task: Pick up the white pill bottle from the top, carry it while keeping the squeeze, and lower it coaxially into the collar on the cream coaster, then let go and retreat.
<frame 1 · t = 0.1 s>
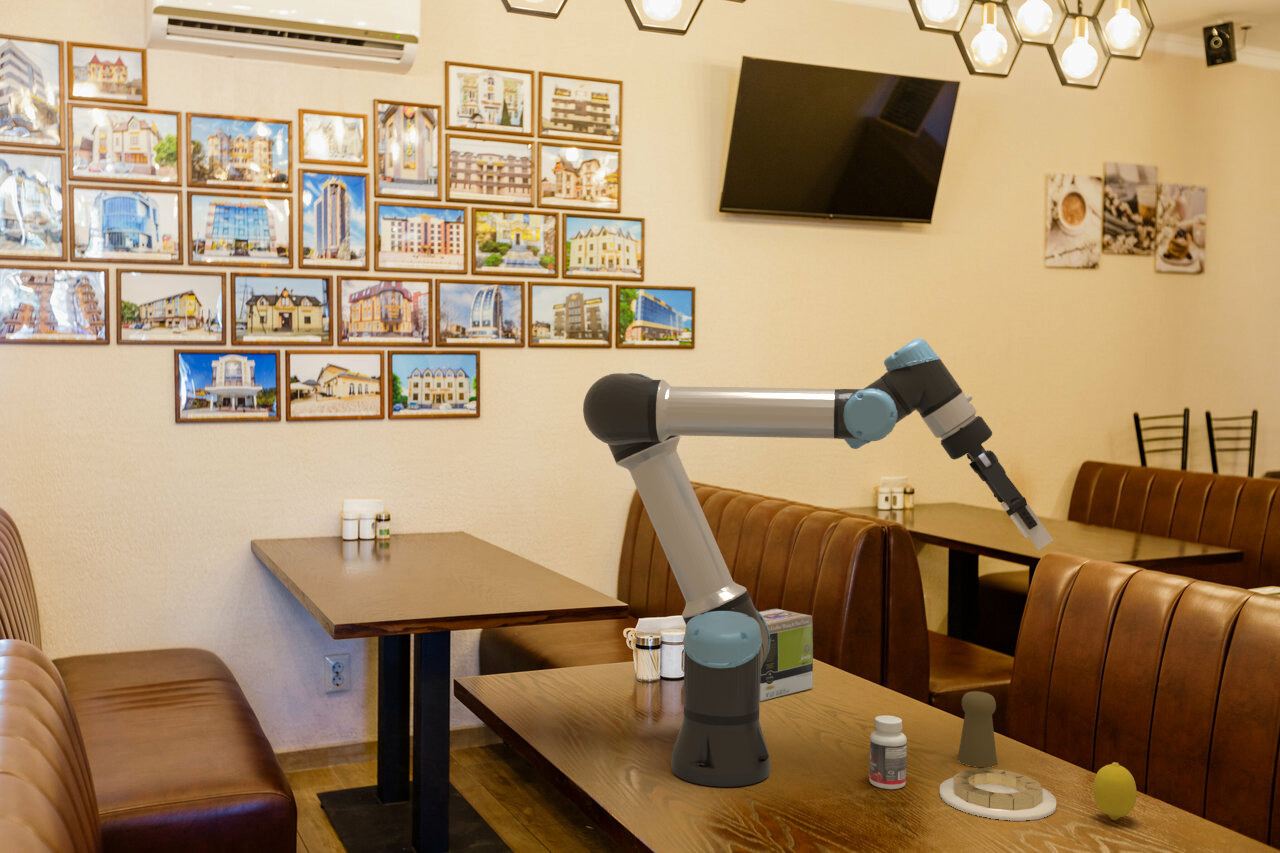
hand: (1038, 539, 174), 36 cm above the table, tool tilted 35°, fingers open, 13 cm apart
coaster: (996, 799, 160), on the table
lemon: (1113, 821, 153), on the table
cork: (977, 762, 177), on the table
tea box: (768, 691, 217), on the table
collar: (997, 788, 160), on the coaster, point 1 cm above the table
pill bottle: (887, 785, 166), on the table
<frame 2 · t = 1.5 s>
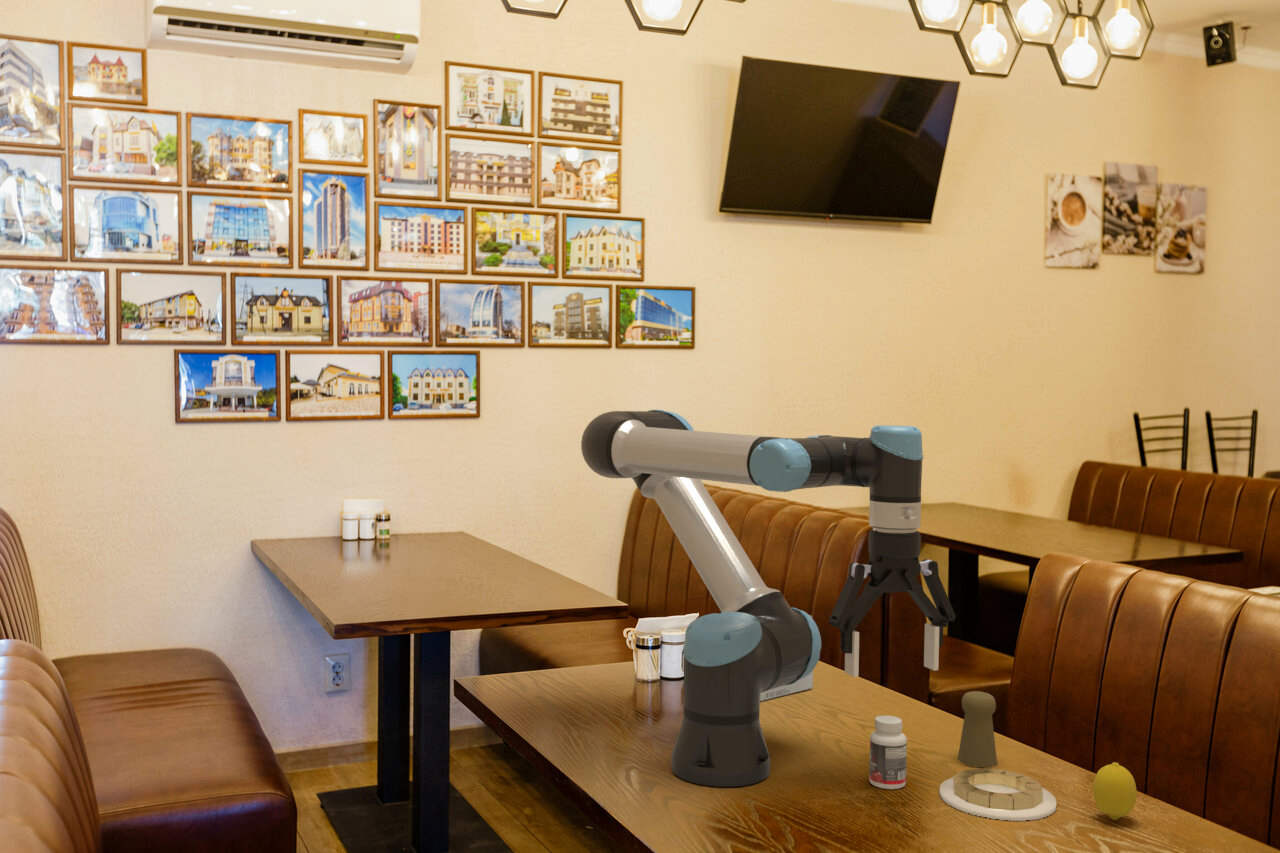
hand: (891, 671, 166), 17 cm above the table, tool pointing down, fingers open, 13 cm apart
nothing on the table moved.
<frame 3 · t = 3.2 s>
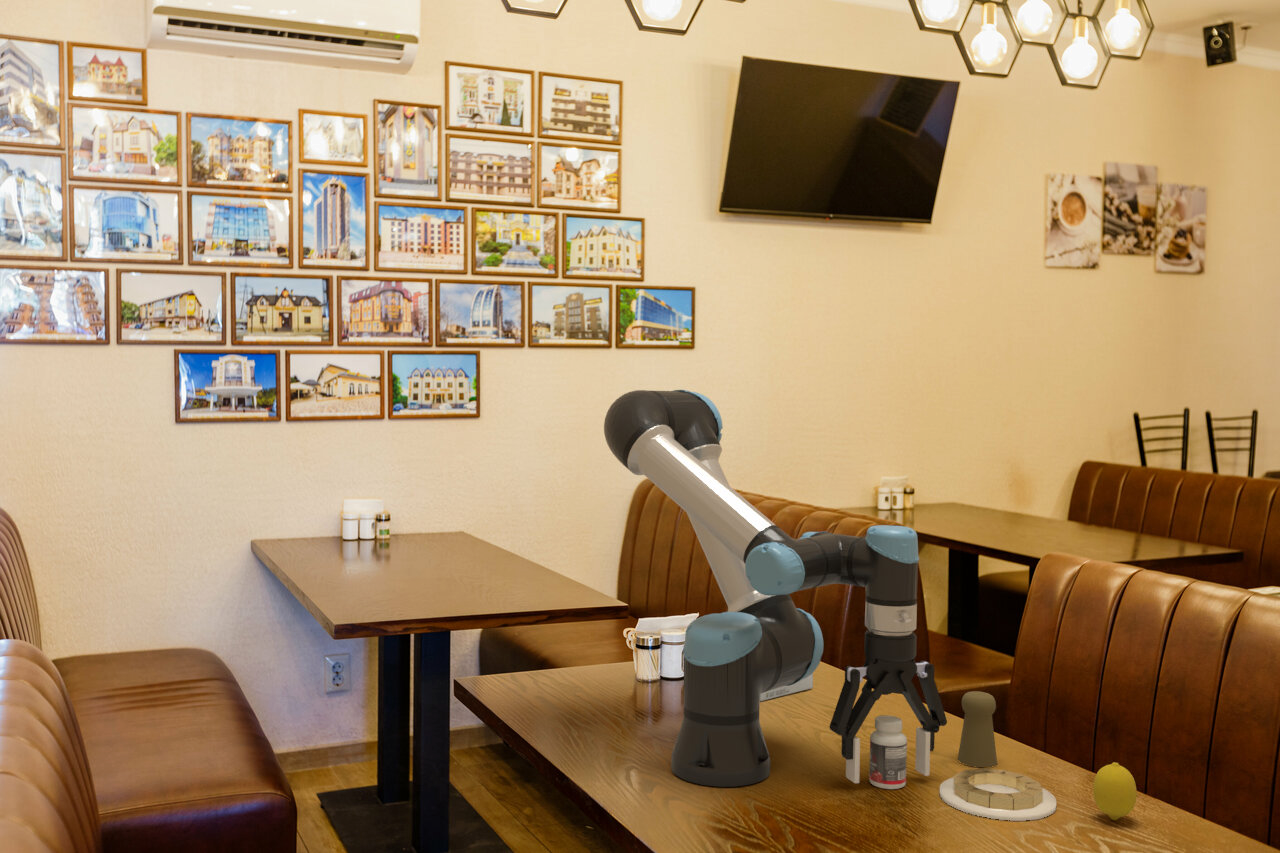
hand: (887, 776, 166), 1 cm above the table, tool pointing down, fingers open, 11 cm apart
nothing on the table moved.
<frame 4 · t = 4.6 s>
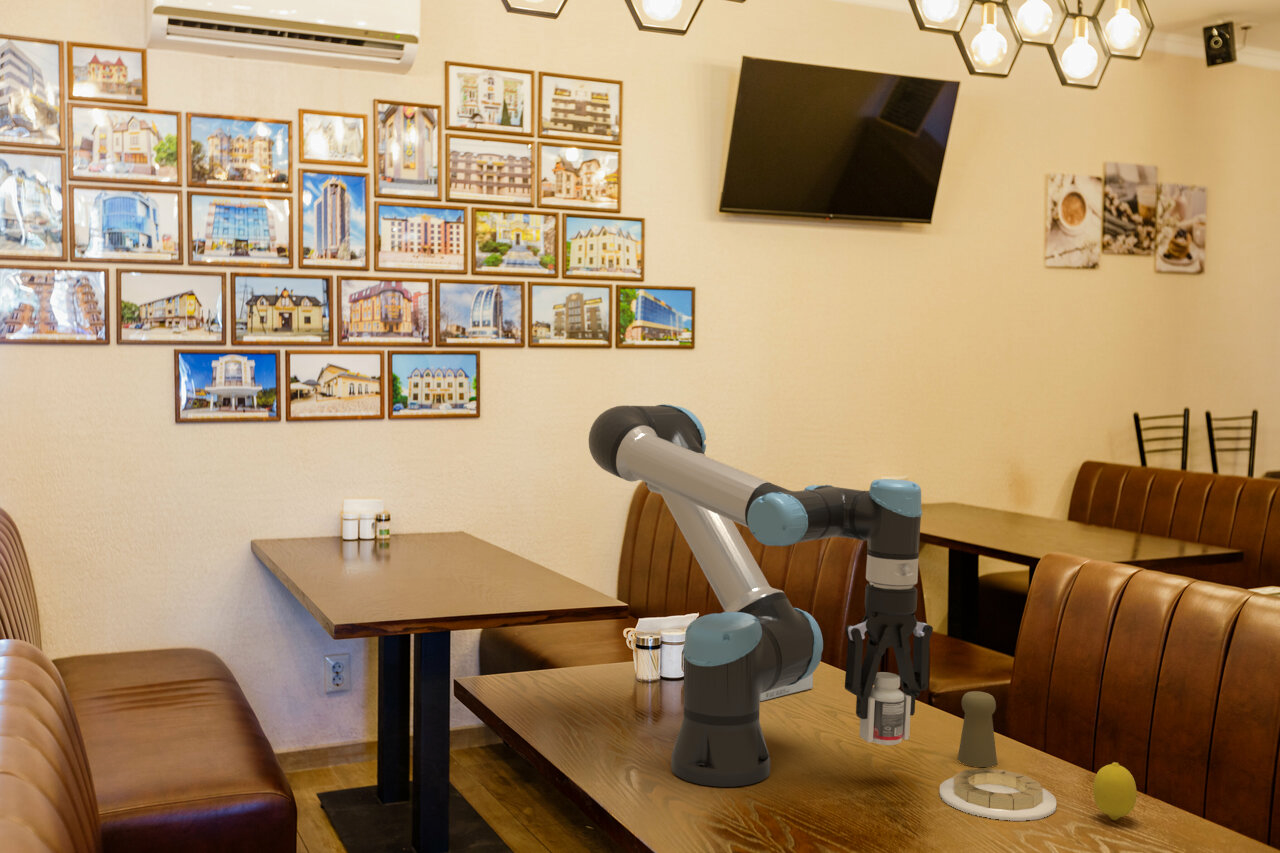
hand: (884, 737, 166), 7 cm above the table, tool pointing down, fingers closed on pill bottle, 5 cm apart
pill bottle: (883, 741, 167), point 6 cm above the table, touching gripper
everything else where it was.
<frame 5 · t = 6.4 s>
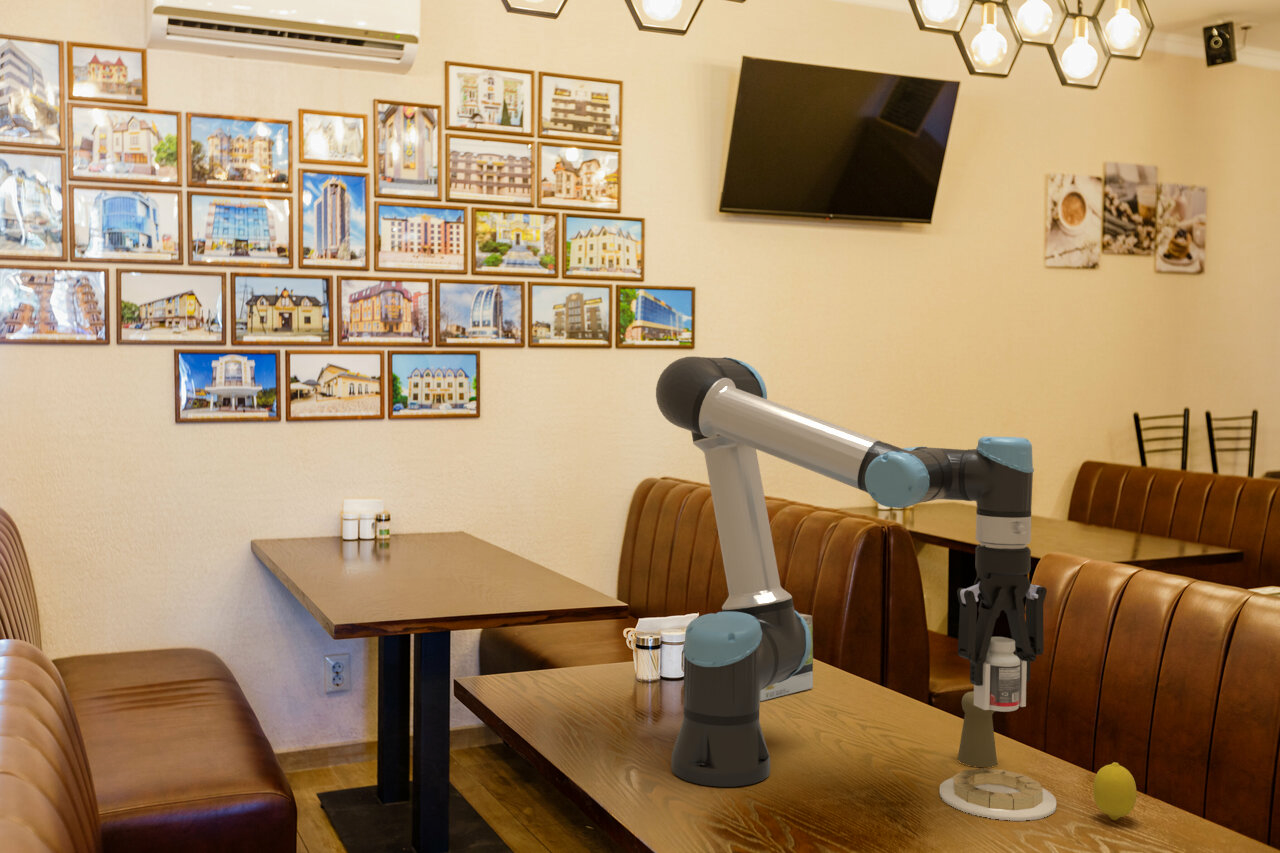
hand: (999, 705, 160), 14 cm above the table, tool pointing down, fingers closed on pill bottle, 5 cm apart
pill bottle: (999, 708, 160), point 13 cm above the table, touching gripper
everything else where it was.
when the fingers open (4 cm above the table, at t = 8.3 s): pill bottle drops 3 cm, resting on coaster.
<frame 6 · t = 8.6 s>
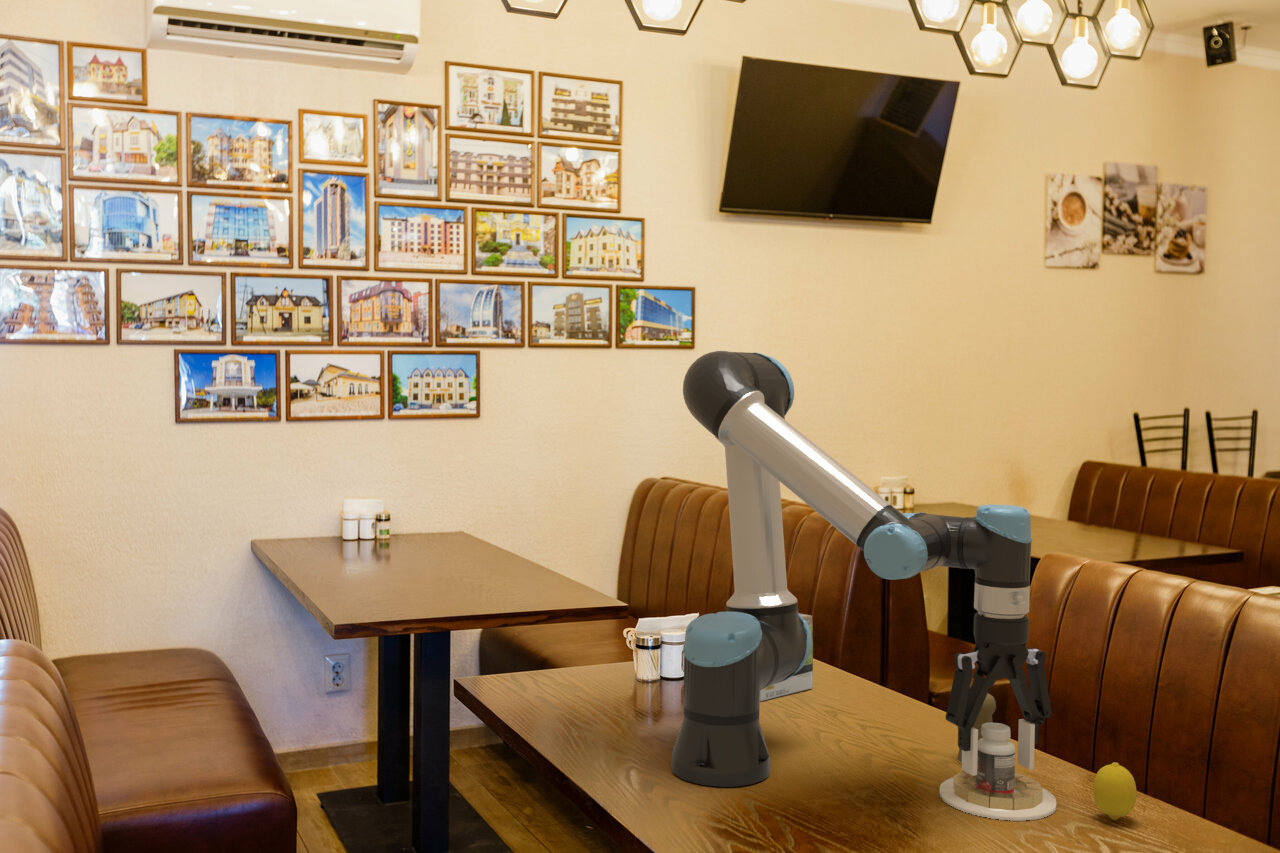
hand: (997, 769, 160), 4 cm above the table, tool pointing down, fingers open, 9 cm apart
pill bottle: (994, 794, 160), point 1 cm above the table, touching coaster
everything else where it was.
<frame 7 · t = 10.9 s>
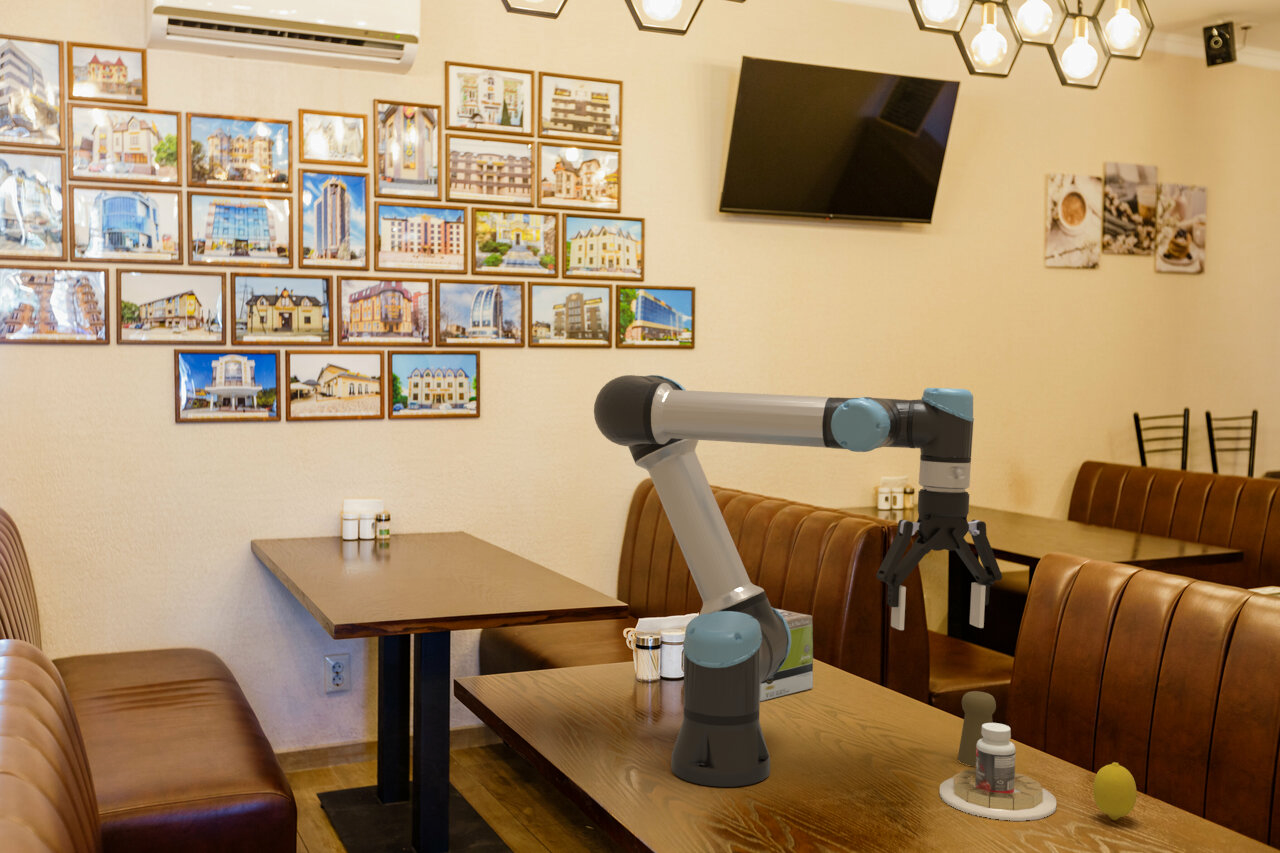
hand: (937, 627, 171), 22 cm above the table, tool pointing down, fingers open, 13 cm apart
nothing on the table moved.
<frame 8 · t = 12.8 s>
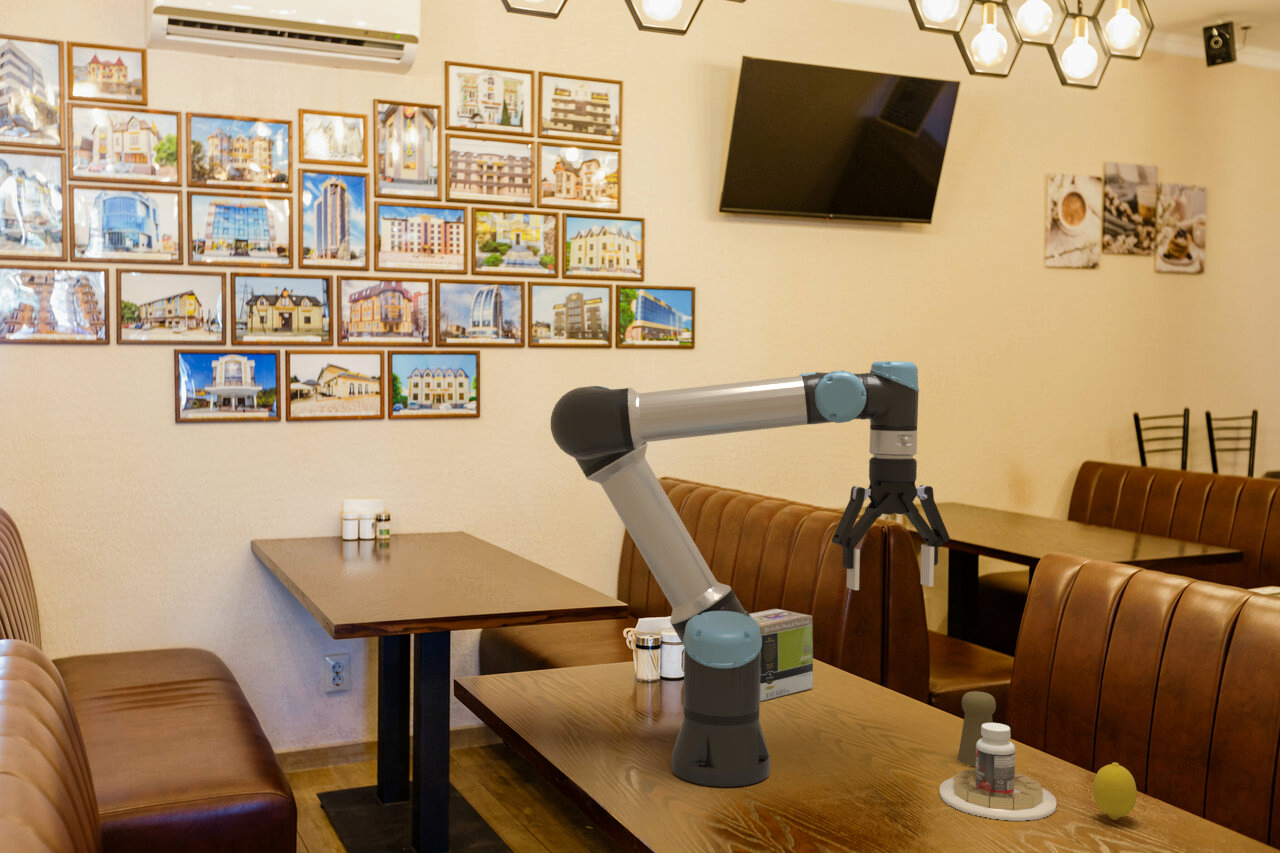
hand: (890, 587, 181), 27 cm above the table, tool pointing down, fingers open, 13 cm apart
nothing on the table moved.
at the end: pill bottle 0.3 cm from the collar (horizontally); pill bottle point 0.6 cm above the table; pill bottle tilted 0° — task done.
